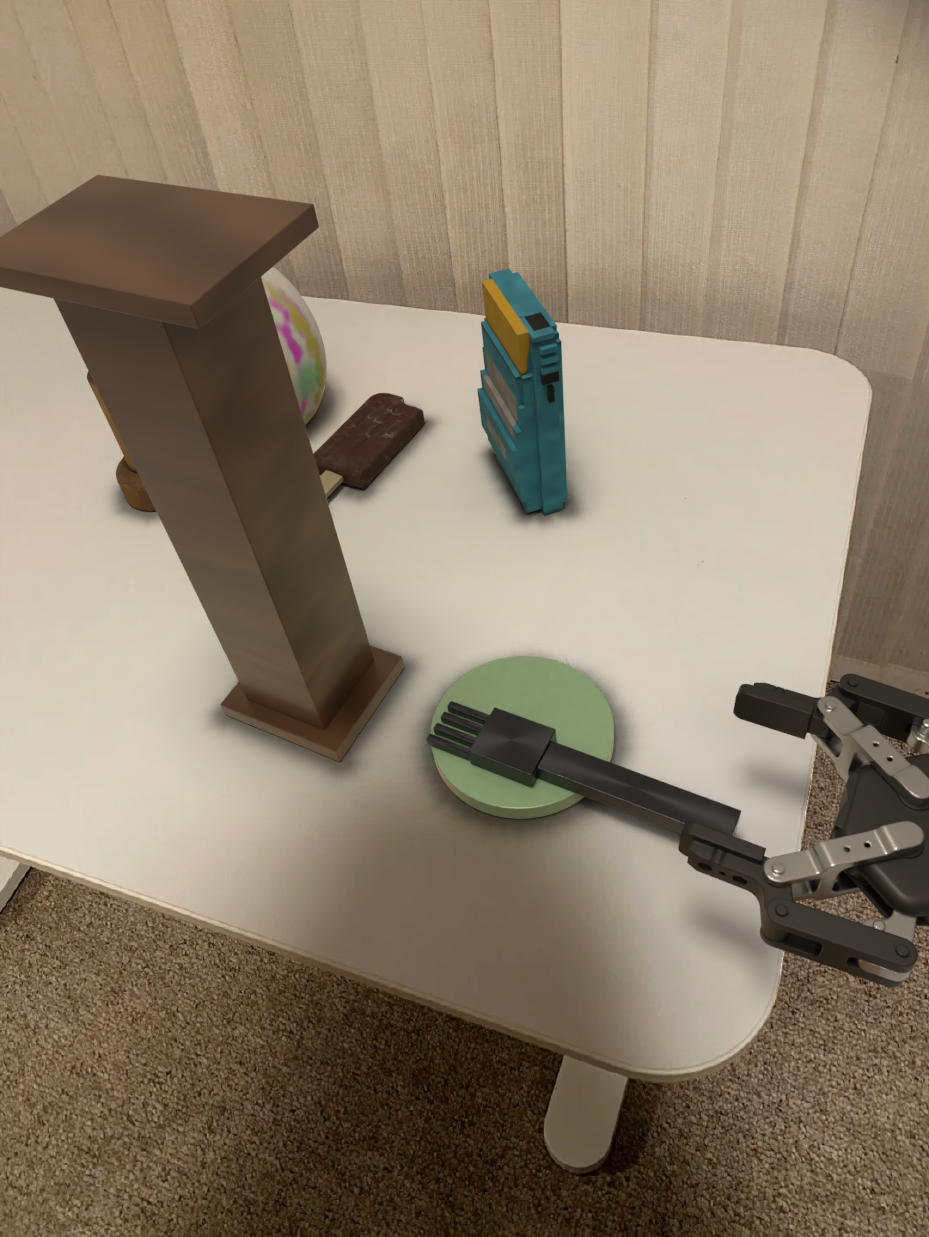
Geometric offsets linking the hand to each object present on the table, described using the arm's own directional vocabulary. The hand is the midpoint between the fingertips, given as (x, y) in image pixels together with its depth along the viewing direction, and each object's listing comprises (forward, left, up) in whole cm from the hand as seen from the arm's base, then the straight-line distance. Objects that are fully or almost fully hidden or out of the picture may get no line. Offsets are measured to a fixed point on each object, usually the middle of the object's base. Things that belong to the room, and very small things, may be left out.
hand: (710, 764), depth 45 cm
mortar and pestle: (+13, +50, -7) cm, 52 cm away
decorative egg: (+24, +47, -7) cm, 53 cm away
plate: (+2, +12, -7) cm, 14 cm away
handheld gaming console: (+24, +22, -7) cm, 33 cm away
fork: (0, +7, -6) cm, 9 cm away
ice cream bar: (+21, +36, -7) cm, 42 cm away
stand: (0, +26, -7) cm, 27 cm away
